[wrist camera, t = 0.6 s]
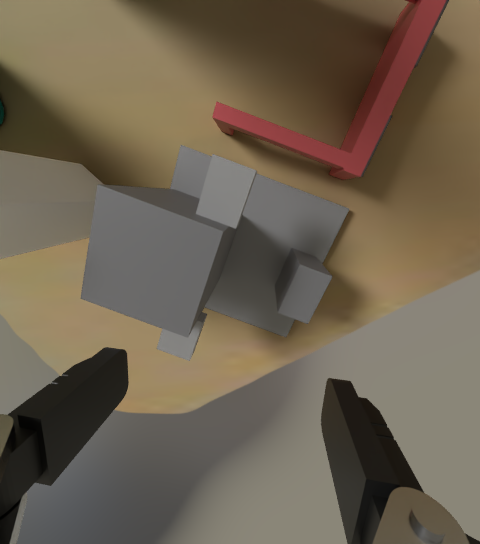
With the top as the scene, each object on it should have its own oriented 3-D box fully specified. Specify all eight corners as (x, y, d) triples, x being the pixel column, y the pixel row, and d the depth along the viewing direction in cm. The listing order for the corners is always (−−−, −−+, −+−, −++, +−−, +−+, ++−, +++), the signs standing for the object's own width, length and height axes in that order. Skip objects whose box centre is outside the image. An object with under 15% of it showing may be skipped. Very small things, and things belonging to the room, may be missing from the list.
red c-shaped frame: (421, 22, 21) (465, -27, 17) (345, 181, 26) (364, 178, 21) (271, -38, 21) (273, -106, 16) (221, 133, 26) (211, 119, 21)
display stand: (346, 208, 27) (428, 221, 13) (285, 333, 32) (300, 431, 19) (183, 146, 26) (101, 97, 13) (149, 283, 32) (66, 346, 18)
